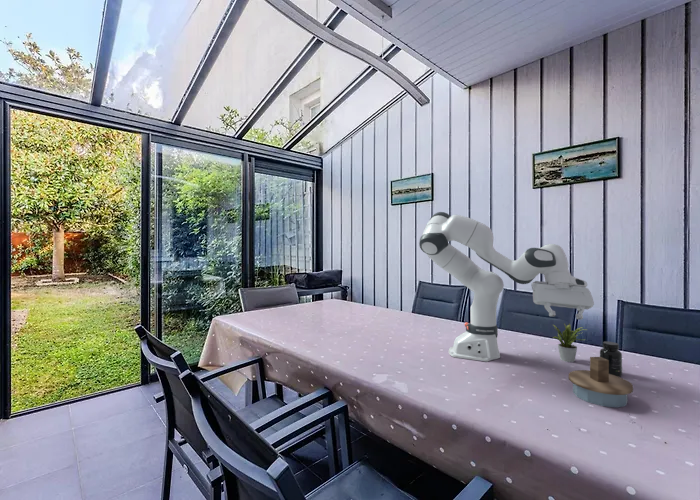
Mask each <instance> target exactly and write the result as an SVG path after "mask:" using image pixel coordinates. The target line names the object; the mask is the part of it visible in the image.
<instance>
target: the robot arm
mask: <svg viewBox="0 0 700 500" xmlns="http://www.w3.org/2000/svg"><path fill="white" fill-rule="evenodd" d="M452 241H454V242H457V243H460V244H462V245H463V246H465V247H468V248H469V249H471V250H473V251H474V252H475V254H476V255H477V256H478V257H479V258H480V259H481V260H483V261H484V262H486V263H488V264H489V265H491V266H493V268H496V269H498V270H500V271H501V272H502V273H504V274H505V275H506V276H507V277H509V278H510V279H511V280H512V281H514V282H515V283H517V284H521V285H528V284H530V283H531V282H532V283H531V290H532V301H533V303H534V304H535V305H541V306H544V309H545V310H546V311H547V313H548V316H549V317H552V318H553V317H556V315H557V314H556V311H555V310H553V309H552V308H551V307H558V308H568V309H576V310H577V312H578V313H576V314H575V319H576V320H584V315H583V313H584V312H585V310H589V309H591V308H592V307H594V305H595V301H594V298H593V295H592V293H591V291H590V289H589V288H588V283H587V281H586V280H584V279H580V278H578V277H575V276H573V275H572V274H571V272H570V270H569V262H568V258H567V255H566V252H565V251H564V249H563V248H562V246H560V245H558V244H554V243H550V244H545V245H543V246H542V247H530V248H528V249H526V250H525V251H524V252H523V253H522V254H521V255H520V256H519V257H518V258H517V259H516V260H512V259H510V258H508V257H506V256H505V255H504V254H502V253H500V252H499V251H497V250H496V249H495V247H494V233H493V231H492V229H491V228H490V227H489V226H488V225H486V224H485V223H482V222H480V221H478V220H476V219H473V218H471V217H467V216H464V215H460V214H452V215H450V214H449V213H446V212H443V211H438V212H436V213H434V214H433V215H432V216H431V217H430V218H429V220H428V221H427V224H426V225H425V227H424V229H423V232H422V235H421V236H420V238H419V242H418V244H419V245H418V246H419V248H420V250H421V251H422V252H423V253H425V254H426V256H428V257H429V259H430V260H432V262H434V263H435V264H436V265H437V266H438V267H439V268H441V269H442V270H444V271H445V272H446V273H448V274H449V275H451V276H452V277H454V278H455V279H456V280H457V281H459V282H460V283H461V284H463V286H465V287H466V288H467V289H469V290H470V291H471V292H473V299H472V304H471V305H470V310H469V311H470V322H466V321H465V323H464V327H465V331H464V332H463V333H461V334H460V335H458V336H456V338H455V339H454V341H453V346H450V347H449V349H448V354H449V356H451V357H452V358H458V359H465V360H473V361H482V362H490V361H493V360H499V359H500V358H501V353H500V349H499V344H498V336H499V335H498V333H499V332H498V331H499V328H498V325H497V306H498V302H499V298H500V295H501V293H502V291H503V289H504V281H503V278H502V277H500V276H499V274H497V273H495V272H493V271H489V270H485V269H484V268H483V269H482V268H481V267H479V266H478V264H476V262H474V261H473V260H472V259H471V258H470V257H469V256H467V255H466V254H465V253H463V252H461V251H460V250H459V249H457V248H456V247H455V246H453V245H452V244H451V243H449V242H452ZM540 274H542V275H543V276H544V281H540V280H539V281H538V280H535V281H534V279H536V277H537V276H538V275H540Z"/></svg>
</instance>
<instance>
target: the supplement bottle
mask: <svg viewBox="0 0 700 500" xmlns="http://www.w3.org/2000/svg"><path fill="white" fill-rule="evenodd" d="M619 349H620V346H619V343H618V342H613V341H607V340H606V341H603V342H602V348H601V349H600V350H599V357H602V358H604V359H607V360H609V374H611V375H615V376H618V377H621V376H622V375H623V353H622V352H621V351H620V350H619Z"/></svg>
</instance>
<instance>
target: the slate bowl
mask: <svg viewBox="0 0 700 500" xmlns="http://www.w3.org/2000/svg"><path fill="white" fill-rule="evenodd" d="M572 393H573V394H574V395H575V396H576V398H578V399H580V400H582V401H584V402H586V403H590V404H593V405H597V406H601V407H608V408H622V407H626V406H627V404H628V403H629V401H628V398H629V397H628V395H629V394H625V395H612V394H604V393H599V392H594V391H591V390H587V389H584V388H582V387H579V386H577V385H575V384H573V383H572Z"/></svg>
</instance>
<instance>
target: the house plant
mask: <svg viewBox="0 0 700 500" xmlns="http://www.w3.org/2000/svg"><path fill="white" fill-rule="evenodd" d="M563 325H564V327H565V329H564V330H563V331H561V330H560V328H558V327H557V326H556V325H555V324H552V326H553V327H554V330H555V331H556V332H557V336H553V337H552V339H556V340H558V341H559V343H558V344H557V348H558V353H559V358H560V360H561V361H562V362H566V363H575V361H576V357H577V356H576V355H577V350H578V347H577V346H576V345H575V344H573V343H574V342H577V343H578V342H579V341H581V342H582V341H583V342H584V341H585V340H586V339H585V338H584V339H580V338H577V336H579V335H580V334H581V332H580V331H588V329H585V328H584V327H583V326H582V327H578V328H576V329H575V330H572V326H571V324H570V322H569V323H568V324H567V325H566V323H563Z"/></svg>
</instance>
